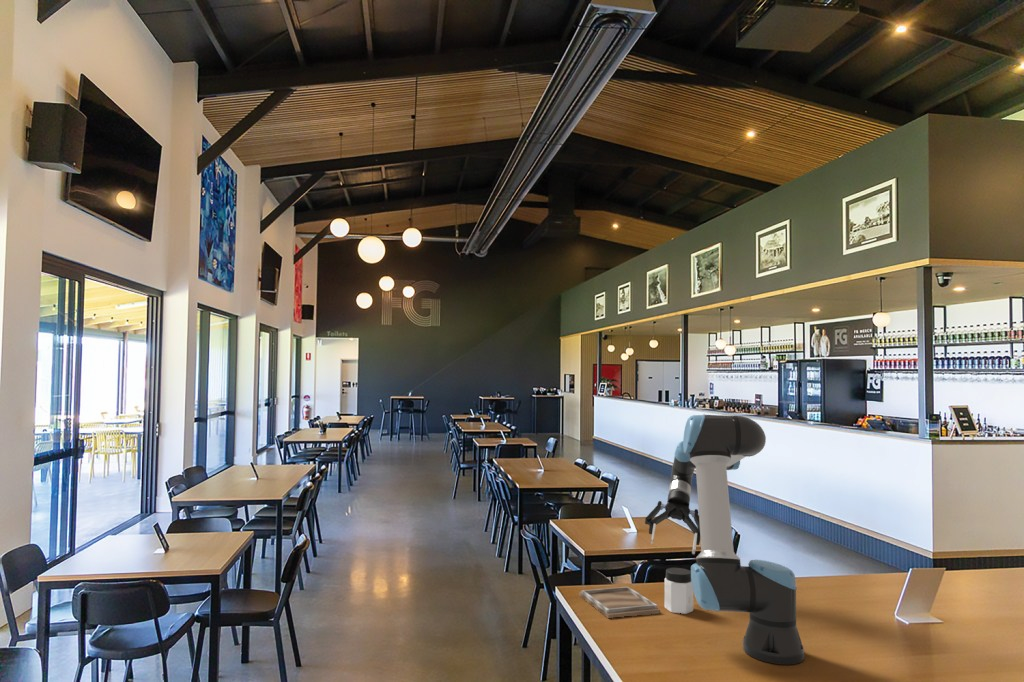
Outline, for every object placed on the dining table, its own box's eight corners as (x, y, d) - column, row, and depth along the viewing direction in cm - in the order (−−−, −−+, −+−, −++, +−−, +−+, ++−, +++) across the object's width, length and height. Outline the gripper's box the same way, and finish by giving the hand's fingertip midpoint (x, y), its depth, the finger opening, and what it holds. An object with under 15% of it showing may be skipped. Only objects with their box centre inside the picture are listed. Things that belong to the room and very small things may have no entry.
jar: (682, 616, 192) (682, 576, 193) (660, 609, 198) (660, 570, 199) (697, 609, 198) (697, 571, 199) (675, 603, 204) (675, 565, 205)
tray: (660, 613, 194) (660, 606, 194) (608, 618, 189) (608, 611, 189) (626, 591, 215) (626, 585, 215) (579, 595, 209) (579, 589, 210)
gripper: (713, 510, 219) (710, 562, 203) (642, 495, 225) (633, 544, 210) (717, 497, 214) (713, 549, 198) (644, 482, 221) (635, 531, 205)
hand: (672, 546), depth 204 cm, fingers open, 13 cm apart
